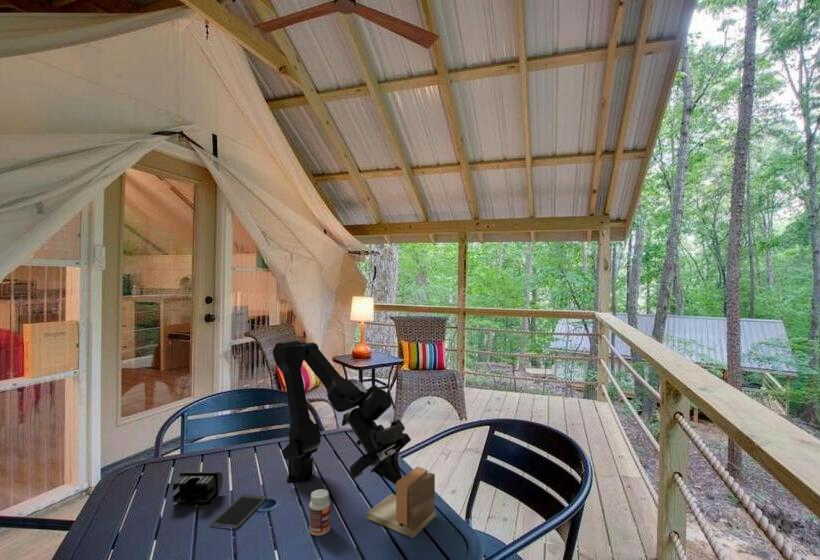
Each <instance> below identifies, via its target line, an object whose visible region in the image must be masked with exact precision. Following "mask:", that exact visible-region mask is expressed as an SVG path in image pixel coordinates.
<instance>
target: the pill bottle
mask: <svg viewBox="0 0 820 560" xmlns="http://www.w3.org/2000/svg"><path fill="white" fill-rule="evenodd" d="M329 493H330V492H329V491H328V490H327V489H323V488H322V489H321V488H320V489H316V490H313V491H312V492H311V494H310V502H309V504H308V508H309V509H308V511H309V512H308V513H309V515H308V519H309V520H308V524H309V525H308V528H309V529H308V530H309V533H310V534H311V535H313V536H323V535H326V534H328V533H329V531H330V530H331V501H330V494H329Z"/></svg>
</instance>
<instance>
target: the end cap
mask: <svg viewBox="0 0 820 560" xmlns="http://www.w3.org/2000/svg"><path fill="white" fill-rule="evenodd" d="M223 482H224V475H223V473H222V472H221V471H181V472H180V473H179V479H177V480H176V481H175V482H174V483H173V484H172V491H175V490H176V489H177V488H178V490H177V491H175V492H174V494H173V495H172V502H174V503H173V507H174V506H196V505H197V506H207V505H210V504H211V503H212V501H213V500H214V499H215V498H216V497H218V496H219V495H220V493H221V491H222V489H223V484H224V483H223ZM216 499H217V498H216ZM216 499H215V500H216ZM215 500H214V501H215ZM214 501H213V502H214ZM212 504H213V503H212ZM212 504H211V505H212ZM211 505H210V506H211Z"/></svg>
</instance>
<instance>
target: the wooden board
mask: <svg viewBox="0 0 820 560" xmlns="http://www.w3.org/2000/svg"><path fill="white" fill-rule="evenodd" d="M428 473H429V470H428V469H425V468H423V467H419V466H416V467H415V468H413V469H412V470H411V471H409V472H408V473H407V474H405V475H404V476H402V478H401V479H400V480H398V481H397V482H396V485H395V487H396V488H395V495H396V521H397V522H399V523H402V524H404V525H408V524H409V488H410V487H412V486H413V485H414V484H415V483H417V482H418V481H419V480H421V479H422V478H423V477H424V476H426V475H427V474H428Z"/></svg>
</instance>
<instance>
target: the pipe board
mask: <svg viewBox="0 0 820 560" xmlns="http://www.w3.org/2000/svg"><path fill="white" fill-rule="evenodd" d="M435 478H436V473H432V472H428V474H427V475H426V476H424V477H423V478H422V479H421V480H419V481H418V482H417V483H415V484H414V485H413V486H412V487H410V488H409V524H408V525H404V524H402V523H399V522H397V521H396V494H393V493H390V494H389V495H388V496H386V497H385V498H384V499H382V500H381V501H380V502H378V503H376V505H375V506H373V507H372V508H370V509H369V510H368V511H366V519H368V520H369V521H372V522H375V523H377V524H379V525H381V526H383V527H386V528H389V529H391V530H393V531H395V532H397V533H399V534H402V535H404V536H407V537H409V538H411V539H415V537H416V536H417V535H418V534H419V533H420V532H421V531H422V530H424V528H426V527H427V526H428V524H429V523H431V522H432V520H434V519H435V518H436V513H437V512H436V505H435V502H436V499H435V498H436V495H435V494H436V492H435V491H436V489H435V488H436V487H435V485H436V483H435V481H436V479H435Z"/></svg>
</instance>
